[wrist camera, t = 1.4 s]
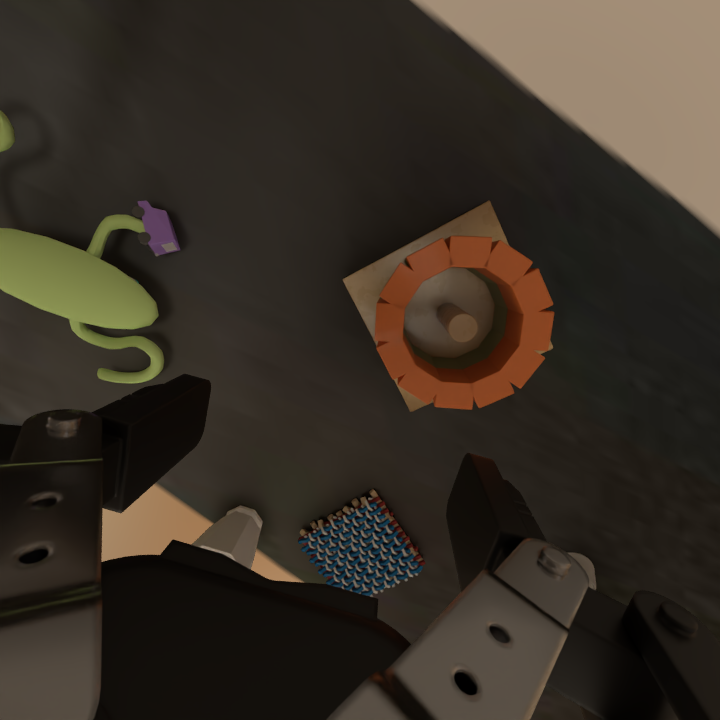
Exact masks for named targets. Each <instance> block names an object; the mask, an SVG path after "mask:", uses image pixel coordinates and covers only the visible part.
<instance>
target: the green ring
mask: <svg viewBox="0 0 720 720" xmlns="http://www.w3.org/2000/svg"><path fill="white" fill-rule="evenodd" d="M404 260H405V262H406V264H407V261H406V259H404ZM407 266H408V264H407ZM408 267H409V266H408ZM451 268H458V267H451ZM465 269H467V270H468V271H470V272H471V273H473V274H474V275H476V276H477V277H479V278H480V279H482V280H483V281H485V283H486V285H487V287H488V289H489V292H490V294H491V296H492V298H493V300H494V303H495V309H494V317H493V325H492V329H491V330H490V332H489V333H488V334H487V336H486V337H485V338H484V340H483V341H482V342H481V344H480V345H479V347H478V348H476V349H474V350H472V351H470V352H468V353H465V354H463V355H461V356H459V357H457V358H443V357H431V356H430V355H428V354H426V353H425V352H423V351H422V350H420V349H419V348H417V347H416V346H414V345H413V344H412V343H411V341H410V339H409V337H408V335H407V333H406V331H405V329H404V330H403V333H404V335H405V337H406V339H407V341H408V343H409V345H410V347H411V349H412V351H413V353H414V354H415V355H417V356H419V357H420V358H422V359H423V360H425V361H426V362H428V363H429V364H431V365H432V366H434V367H436V368H447V369H464V368H467V367H469V366H471V365H473V364H475V363H478V362H480V361H482V360H484V359H486V358H488V356H489V355H490V354H491V352H492V351H493V350H494V348H495V347H496V346H497V345H498V343H499V342H500V341H501V339H502V338H503V337H504V333H505V326H506V318H507V311H508V308H507V306H506V304H505V301H504V299H503V297H502V295H501V292H500V290H499V288H498V286H497V284H496V283H495V282H493V281H492V280H490V279H489V278H487V277H486V276H484V275H483V274H481V273H480V272H478V271H477V270H475V269H474V268H465ZM379 299H383V298H381V297H380V298H379Z"/></svg>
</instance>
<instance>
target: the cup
mask: <svg viewBox="0 0 720 720" xmlns="http://www.w3.org/2000/svg"><path fill="white" fill-rule="evenodd" d="M262 523H263V521H262V520H261V518H260V517H259V515H258V514H257V512H256V511H255V510H254V509H251V508H247V507H244V506H241V505H240V506H238V507H236V508H234V509H232V510H230V511H228V512H227V514H226V516H225V517H223V518H221V519H220V520H219V521H217V522H216V523H215V524H213V525H212V526H211V527H209V528H208V529H207V530H206V531H205V533H203V534H202V535H201V536H200V537H199V538H198V539H197V540H196V541H195V542H194V543H193V544H192V545H194V546H197V547H201V548H204V549H207V550H211V551H214V552H218V553H221V554H224V555H226V556H227V557H229V558H231V559H233V560H234V561H236V562H238V563H240V564H242V565H243V566H245V567H247V568H249V569H251V566H252V563H253V560H254V556H255V552H256V548H257V543H258V538H259V535H260V531H261V527H262Z"/></svg>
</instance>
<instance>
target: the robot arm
mask: <svg viewBox="0 0 720 720" xmlns="http://www.w3.org/2000/svg"><path fill="white" fill-rule="evenodd" d="M210 392H211V383H210V381H209V380H206V379H202V378H199V377H195V376H191V375H188V374H183V375H181V376H179V377H177V378H175V379H173V380H171V381H169V382H167V383H165V384H158V385H153V386H148V387H144V388H142V389H140V390H138V391H136V392H134V393H132V395H130V394H129V395H127V396H125V397H123V398H122V399H121V400H117V401H115V402H113V403H111V404H108V405H106V406H104V407H102V408H100V409H98V410H96V411H94V412H92V413H91V412H87V411H82V410H72V409H63V410H52V411H47V412H42V413H39V414H36V415H34V416H31V417H30V418H28V419H27V420H26V421H25V422H24V423H23V425H22V426H15V425H5V424H0V720H530V718H531V716H532V714H533V711H534V709H535V707H536V705H537V703H538V700H539V698H540V696H541V694H542V691H543V689H544V687H545V685H546V686H548V687H550V688H551V689H553V690H555V691H556V692H558V693H560V694H561V695H563V696H565V697H566V698H568V699H570V700H571V701H573V702H575V703H576V704H578V705H580V708H581V711H582V714H583V717H584V720H720V642H719V641H718V640H717V638H716V637H715V636H714V635H713V633H712V632H711V631H710V630H709V629H708V628H707V627H706V626H705V625H704V624H703V623H702V622H701V621H700V620H699V619H697V618H696V617H695V616H694V615H693V614H691V613H690V612H689V611H687V610H686V609H684V608H683V607H681V606H680V605H678V604H677V603H675V602H673V601H671V600H670V599H668V598H666V597H664V596H661V595H659V594H656V593H653V592H650V591H637V592H636V593H635V594H634V595H633V597H632V599H631V601H630V603H629V605H628V606H626V605H624V604H622V603H620V602H618V601H616V600H614V599H612V598H610V597H608V596H606V595H604V594H602V593H600V592H598V591H596V590H594V589H592V588H590V587H589V577H588V575H587V573H586V571H585V570H584V568H583V567H582V566H581V565H580V564H579V562H578V561H577V560H575V559H574V558H573V557H572V556H571V555H569V554H568V553H567V552H565V551H564V550H562V549H561V548H559V547H557V546H555V545H553V544H551V543H549V542H547V541H546V539H545V537H544V535H543V534H542V532H541V530H540V528H539V526H538V524H537V523H536V521H535V519H534V517H532V513H531V512H530V510H529V508H528V507H527V506H526V503H525V501H524V499H523V497H522V495H521V493H520V492H519V491H518V490H517V489H516V488H515V487H514V486H513V485H512V484H511V483H510V482H509V481H507V480H504V479H503V478H502V476H501V474H500V472H499V470H498V468H497V466H496V464H495V462H494V461H493V460H492V459H488V458H485V457H481V456H478V455H474V454H470V453H467V454H466V455H465V457H464V458H463V461H462V463H461V466H460V469H459V472H458V474H457V477H456V480H455V483H454V486H453V488H452V491H451V494H450V497H449V500H448V504H447V512H446V518H447V524H448V529H449V534H450V539H451V544H452V549H453V554H454V559H455V564H456V569H457V574H458V579H459V584H460V589H461V593H460V594H459V595H458V596H457V597H456V598H455V599H454V601H453V602H452V603H451V604H450V605H449V606H448V607H447V608H446V609H445V610H444V611H443V612H442V613H441V614H440V615H439V616H438V617H437V618H436V619H435V620H434V621H433V622H432V623H431V624H430V626H429V627H428V628H427V629H426V630H425V631H424V632H423V633H422V634H421V635H420V636H419V637H418V638H417V639H416V640H415V641H414V642H413V643H412V644H410V643H409V642H408V641H407V640H406V639H405V638H404V637H403V636H402V635H401V634H399V633H398V632H397V631H396V630H395V629H393V628H392V627H390V626H389V625H387V624H386V623H385V622H383V621H381V620H379V619H378V618H377V610H378V599H376V598H373V597H369V596H366V595H362V594H359V593H356V592H352V591H349V590H345V589H342V588H338V587H335V586H331V585H328V584H316V583H301V582H286V581H274V580H269V579H267V578H265V577H263V576H261V575H259V574H258V573H256V572H254V571H252V570H251V569H249V568H247V567H245V566H243V565H242V564H240V563H238V562H236V561H234V560H233V559H231V558H229V557H227V556H226V555H224V554H221V553H218V552H214V551H211V550H207V549H204V548H201V547H197V546H194V545H190V544H187V543H183V542H180V541H176V540H172V541H171V542H170V544H169V545H168V546H167V547H166V548H165V550H164V551H163V552H162V553H161V555H138V556H128V557H122V558H117V559H112V560H108V561H104V562H101V552H102V549H101V548H102V508H104V509H108V510H112V511H115V512H118V513H122V512H123V511H124V510H125V509H127V508H128V507H129V506H130V505H131V504H132V503H133V502H134V501H135V500H137V499H138V498H139V497H140V496H141V495H142V494H143V493H145V492H146V491H147V490H148V489H149V488H150V487H151V486H152V485H153V484H155V483H156V482H157V481H158V480H159V479H160V478H161V477H162V476H164V475H165V474H166V473H167V472H168V471H169V470H170V469H171V468H172V467H174V466H175V465H176V464H177V463H178V462H179V461H180V460H181V459H183V458H184V457H185V456H186V455H187V454H188V453H189V452H190V451H191V450H193V449H194V448H195V447H196V446H197V444H198V443H199V441H200V439H201V437H202V434H203V431H204V427H205V422H206V416H207V410H208V404H209V398H210Z"/></svg>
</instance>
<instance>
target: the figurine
mask: <svg viewBox="0 0 720 720" xmlns="http://www.w3.org/2000/svg"><path fill="white" fill-rule="evenodd" d="M14 142H15V135H14V128H13V126H12V124H11V123H10V121H9V119H8V118H7V116H6V115H5V114H4V113H3V112H2V111H1V110H0V152H2V151H5V150H8V149H10V148H11V146H12V145H13V143H14ZM138 205H139V206H136V207H134V208H133V209H132V214H133V215H134V217H135V218H134V217H131V216H129V215H112V216H107V217H105V218H104V219H103V221H102V222H101V223H100V225H99V226H98V228H97V230H96V232H95V234H94V236H93V239H92V241H91V244H90V246H89V247H88V249H87V250H86V252H85V251H83V250H81V249H78V248H75V247H73V246H70V245H67V244H65V243H62V242H59V241H57V240H54V239H51V238H49V237H45V236H41V235H37V234H32V233H28V232H24V231H20V230H15V229H7V228H0V289H1V290H3V291H4V292H6V293H8V294H10V295H12V296H14V297H17V298H19V299H21V300H23V301H25V302H27V303H29V304H31V305H33V306H35V307H38V308H40V309H42V310H45V311H48V312H51V313H54V314H57V315H60V316H62V317H65V318H68V319H69V321H70V325H71V328H72V330H73V331H74V332H75V333H76V334H77V335H78V337H80V338H82V339H84V340H85V341H87V342H89V343H92V344H94V345H97V346H100V347H103V348H108V349H121V348H126V347H137V348H139V349H142V350H144V351H145V352H146V353H147V354H148V355H149V356H150V358H151V365H150V366H149V367H148V368H146V369H145V370H143V371H139V372H132V373H128V372H118V371H112V370H108V369H104V368H100V369H99V370H98V372H97V375H98V377H99V378H100V379H102V380H106V381H110V382H117V383H140V382H145V381H148V380H150V379H152V378H154V377H155V376H157V375H158V374H159V373H160V372H161V371H162V370H163V365H164V356H163V351H162V350H161V349H160V348H159V347H158V346H157V345H156V344H155V343H154V342H152V341H150V340H149V339H147V338H145V337H141V336H129V337H122V338H112V337H107V336H104V335H101V334H98V333H95V332H94V331H92V330H90V329H89V328H87V327H86V325H85V324H84V323H87V324H91V325H96V326H100V327H105V328H117V329H137V328H141V327H145V326H150V325H151V324H152V323H153V322H154V321H155V320H156V318H157V317H158V316H159V314H158V309H157V303H156V302H155V301H154V299H153V298H152V297H151V296H150V295H149V294H148V292H147V291H146V290H145V289H144V288H143V287H142V286H141V285H140V284H139V282H138V281H137V280H135V279H133V278H131V277H129V276H127V275H126V274H124V273H123V272H122V271H120V270H119V269H117V268H116V267H114V266H112V265H110V264H108V263H107V262H105V261H103V260H101V259H100V258H101V256H102V253H103V250H104V247H105V244H106V241H107V238H108V236H109V234H110V233H111V231H112V230H116V229H120V228H123V229H131V230H133V231H136V232H139V233H140V234H138V239H139V241H140V243H141V244H143V245H148V247H149V250H150V251H151V252H152V253H153V254H155V256H159V255H162V254H166V253H170V252H174V251H179V250H180V247H179V244H178V241H177V237H176V234H175V231H174V228H173V225H172V222H171V220H170V218H169V216H168V214H167V212H166V211H164V210H160V209H156V208H152V207H151V206H150V204H149V203H148V202H147V201H138ZM140 219H142V220H140Z"/></svg>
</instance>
